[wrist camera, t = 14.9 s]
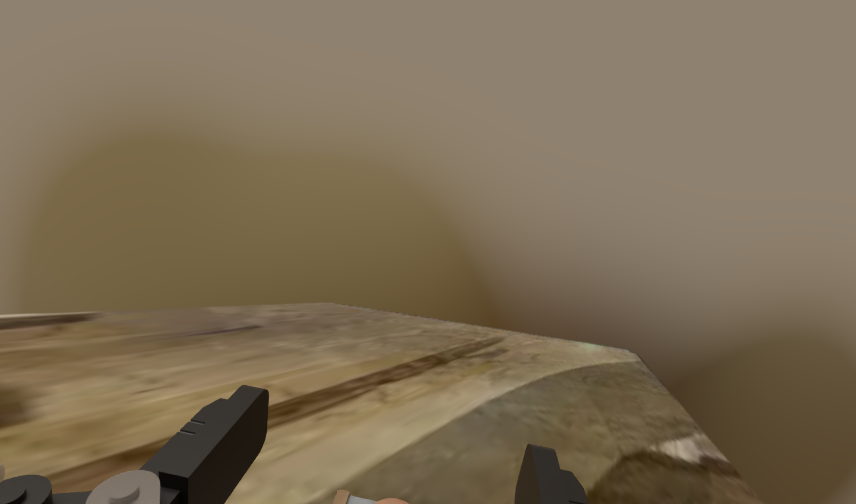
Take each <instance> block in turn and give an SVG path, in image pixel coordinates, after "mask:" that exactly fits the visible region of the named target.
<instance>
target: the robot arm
mask: <svg viewBox="0 0 856 504" xmlns="http://www.w3.org/2000/svg"><path fill="white" fill-rule="evenodd" d="M268 403H269V392H268V390H266V389H262V388H257V387H252V386H247V385H242V386H241V387H239V388H238V389H237V391H236V392H235V393H234V394H233V395H232V396H231V397H230V398H229V399H228V400H227V399H222V398H220V399H218V400H216V401H214V402H212V403H211V404H209V405H207V406H205V407H203V408H202V409H201V410H200V411H199V412H198V413H197V414H196V415H195V416H194V417H193V418H192V419H191V421H190V422H188V423H187V424H186V425H185V426H184V427H182V428H181V429H180V432H177V433H176V434H175V435H174V436H173V437H172V438H171V439H170V440H169V441H168V442H167V443H166V444H165V445H164V446H163V447H162V448H161V449H160V450H159V451H158V452H157V453H156V454H155V455H154V456H153V457H152V458H151V459H150V460H148V461H147V462H146V463H145V464H144V465H143V466H142V467H141V468H140V469H139V470H133V471H127V472H124V473H120V474H118V475H115V476H113V477H111V478H109V479H107V480H106V481H104V482H102V483H101V484H100V485H98V486H97V487H96V488H95V489H94V490H93V491H88V492H74V493H59V494H52V488H51V483H50V481H49V480H48V479H47V478H45V477H43V476H40V475H24V476H18V477H14V478H10V479H7V480H4V481H2V482H0V504H224V503H225V502H226V500H227V499H228V497H229V496H230V494H231V493H232V492H233V490H234V489H235V487H236V486H237V484H238V483H239V482H240V480H241V479H242V477H243V476H244V474H245V473H246V471H247V470H248V469H249V467H250V466H251V464H252V463H253V461H254V460H255V459H256V457H257V456H258V454H259V453H260V451H261V449H262V447H263V444H264V441H265V438H266V433H267V420H268ZM515 504H588V501H587V497H586V494H585V491H584V488H583V487H582V485H581V484H580V482H579V481H578V480H577V478H576V477H575V476H574V474H573V473H572V472H570V471H566V470H561V469H560V467H559V463H558V459H557V455H556V452H555V450H554V449H552V448H547V447H542V446H537V445H532V444H528V445H527V447H526V450H525V454H524V458H523V462H522V466H521V470H520V473H519V477H518V481H517V485H516V491H515Z"/></svg>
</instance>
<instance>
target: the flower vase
mask: <svg viewBox="0 0 856 504" xmlns="http://www.w3.org/2000/svg"><path fill="white" fill-rule="evenodd" d="M4 475H5V468H4V466H3V465H2V464H1V463H0V482H2V481H3V479H4Z"/></svg>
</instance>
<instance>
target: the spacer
mask: <svg viewBox="0 0 856 504" xmlns="http://www.w3.org/2000/svg"><path fill="white" fill-rule="evenodd" d="M374 504H409V503H407V502H405V501H403V500H400V499H396V498H387V499H382V500H380V501H378V502H376V503H374Z"/></svg>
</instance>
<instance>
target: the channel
mask: <svg viewBox="0 0 856 504" xmlns="http://www.w3.org/2000/svg"><path fill="white" fill-rule="evenodd" d="M349 494H350V492H349V491H345V490H340V489H338V491H337V494H336V496H335V499H334V502H333V504H374V503H376V502H377V501H372V500H368V499H363V498H358V497H354V496H349Z"/></svg>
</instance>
